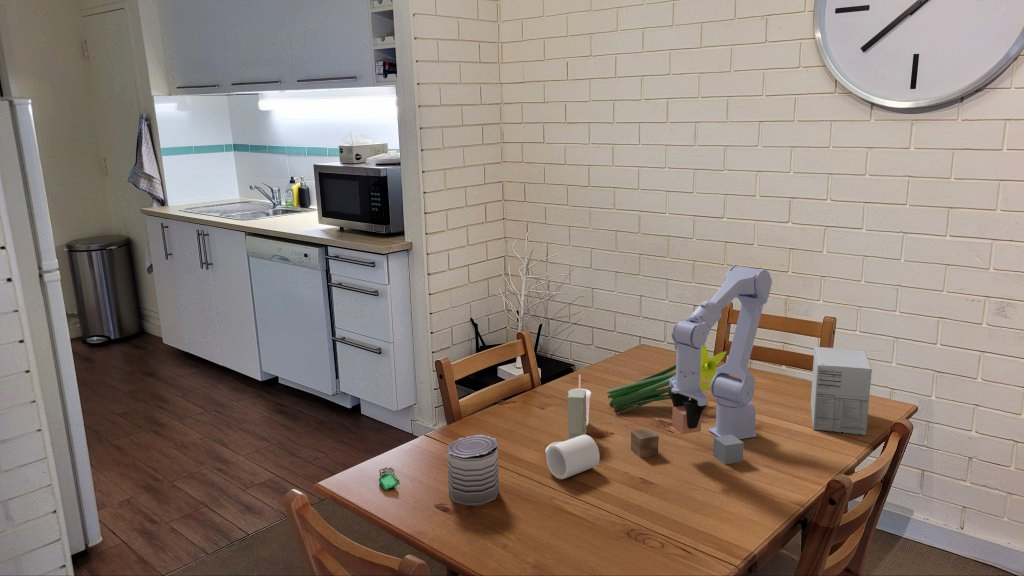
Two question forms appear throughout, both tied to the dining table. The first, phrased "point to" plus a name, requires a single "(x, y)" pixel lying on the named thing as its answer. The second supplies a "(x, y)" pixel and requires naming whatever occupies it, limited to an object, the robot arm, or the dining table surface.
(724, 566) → the dining table surface
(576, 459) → the mug
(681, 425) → the terracotta block
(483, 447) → the can
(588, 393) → the beverage cup
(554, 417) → the dining table surface
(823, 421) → the supplement box
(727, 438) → the slate grey block
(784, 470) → the dining table surface
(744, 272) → the robot arm
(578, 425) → the skincare box
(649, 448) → the walnut block
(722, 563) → the dining table surface
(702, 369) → the daffodil flowers
